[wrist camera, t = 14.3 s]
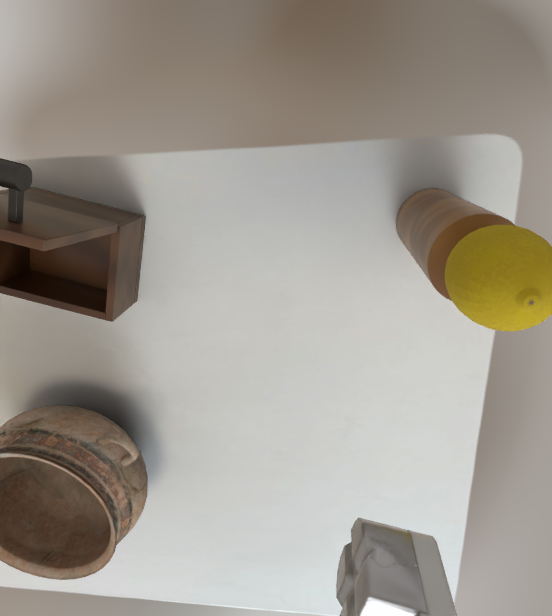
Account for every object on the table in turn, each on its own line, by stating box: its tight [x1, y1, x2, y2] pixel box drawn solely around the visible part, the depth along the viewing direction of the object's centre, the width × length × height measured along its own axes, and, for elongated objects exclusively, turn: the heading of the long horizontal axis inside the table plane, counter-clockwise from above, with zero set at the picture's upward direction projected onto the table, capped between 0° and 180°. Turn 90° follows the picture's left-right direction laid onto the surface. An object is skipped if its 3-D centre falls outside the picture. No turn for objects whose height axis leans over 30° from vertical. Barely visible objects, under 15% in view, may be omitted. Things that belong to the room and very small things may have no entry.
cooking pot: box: [0, 405, 148, 580], centre depth 49 cm, size 25×19×12 cm
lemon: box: [445, 225, 552, 331], centre depth 23 cm, size 6×6×8 cm
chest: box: [0, 187, 146, 322], centre depth 42 cm, size 10×13×6 cm
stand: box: [396, 188, 515, 301], centre depth 33 cm, size 6×6×14 cm
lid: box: [0, 159, 118, 251], centre depth 32 cm, size 10×13×5 cm
